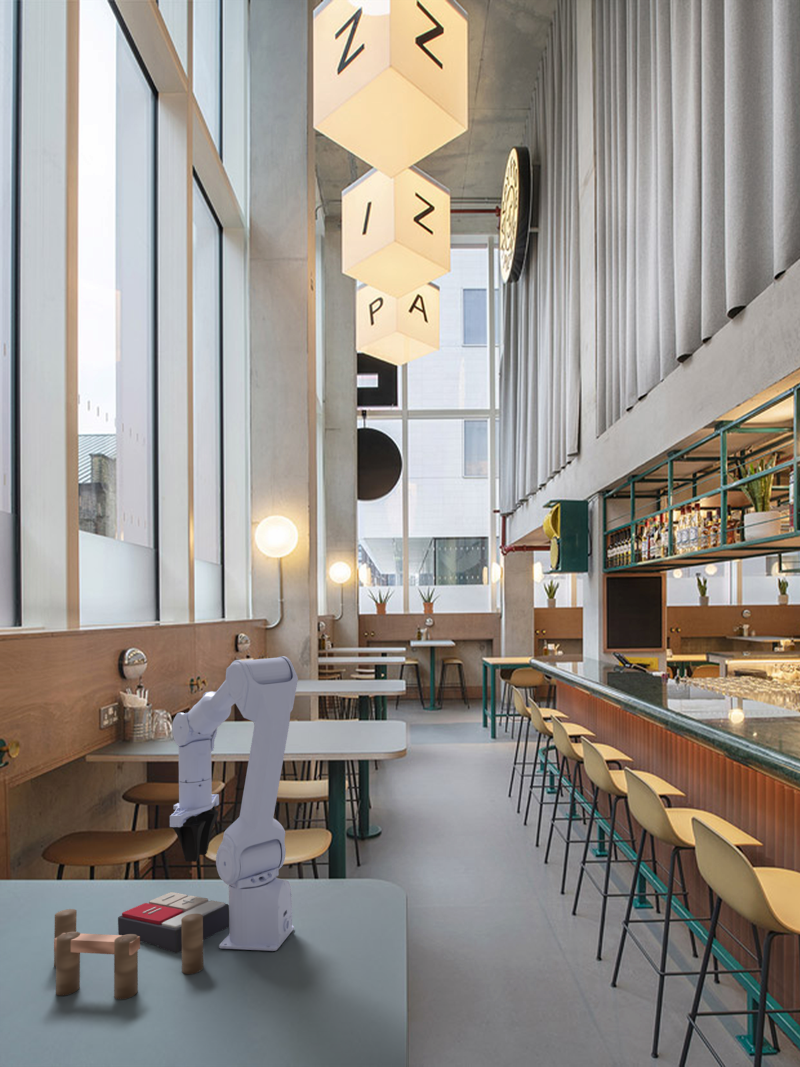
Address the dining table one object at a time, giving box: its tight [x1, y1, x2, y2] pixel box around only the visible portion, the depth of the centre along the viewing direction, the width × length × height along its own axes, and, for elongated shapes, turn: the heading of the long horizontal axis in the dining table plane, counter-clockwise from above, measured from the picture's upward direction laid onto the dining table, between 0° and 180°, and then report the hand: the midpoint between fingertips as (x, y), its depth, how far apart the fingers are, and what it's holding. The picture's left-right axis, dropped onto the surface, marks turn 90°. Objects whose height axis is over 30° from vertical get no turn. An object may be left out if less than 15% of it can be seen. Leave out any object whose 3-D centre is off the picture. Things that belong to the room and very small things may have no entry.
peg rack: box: [53, 908, 204, 1000], centre depth 99 cm, size 24×10×7 cm, turn 79°
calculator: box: [117, 891, 229, 954], centre depth 114 cm, size 11×4×15 cm
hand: (196, 857), depth 124 cm, fingers open, 3 cm apart
